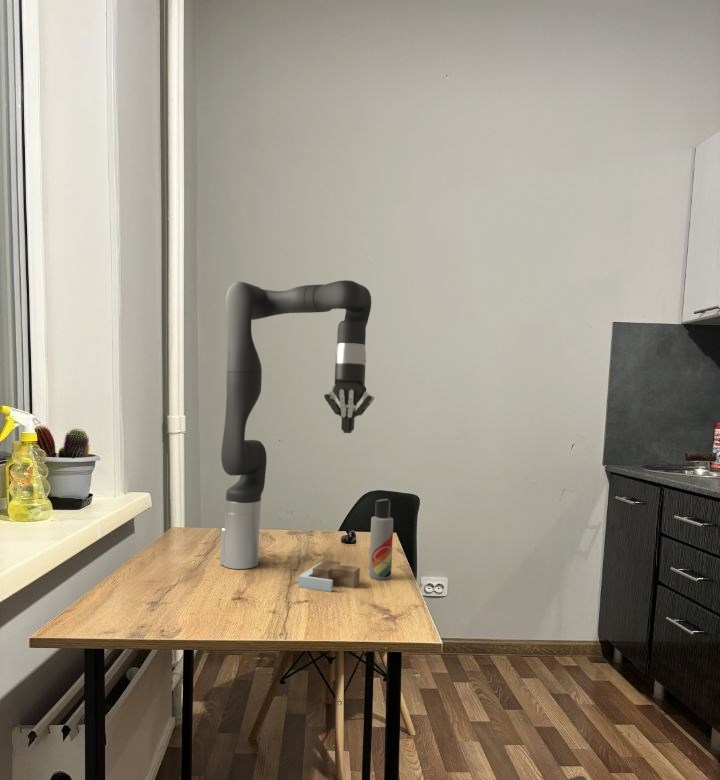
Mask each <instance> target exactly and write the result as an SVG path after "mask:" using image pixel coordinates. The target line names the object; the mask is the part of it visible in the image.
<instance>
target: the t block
mask: <svg viewBox="0 0 720 780" xmlns="http://www.w3.org/2000/svg"><path fill="white" fill-rule="evenodd" d="M321 562H322V563H320V562H319V563H320V564H319V565H317V564H316V565H317V566H316V567H314V566H313V567H314V568H313V576H312V577H316V578H323V579H330V580H333V587H334V586H336V587H342V588H347V589H348V588H350V589H355V588H357V586H358V585H360V574H361V573H360V572H361V570H360V569H361V568H360V567H359V566H353V565H348V566H346V564H341V562H339V561H334V560H333V561H332V560H326V559H325V560H324V561H321ZM340 564H341V565H340Z"/></svg>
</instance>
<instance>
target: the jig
mask: <svg viewBox="0 0 720 780" xmlns="http://www.w3.org/2000/svg"><path fill="white" fill-rule="evenodd" d="M322 562H323V561H319V563H317V564H316V565H314V566H312V567H311V568H309V569H308V570H306V571H303V573H301V574H300V575H298V577H297V580H298V581H297V587H298V588H304V589H309V590H316V591H322V592H323V591H324V592H330V593H331V592H333V589H334V588H333V587H334V585H333V580H330V579H323V578H316V577H312V576H313V568H314V567H316V566H317V565H319V564H320V563H322ZM340 565H342V564H341V563H340ZM345 565H346V564H345ZM346 566H349V565H346Z"/></svg>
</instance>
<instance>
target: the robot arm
mask: <svg viewBox="0 0 720 780" xmlns="http://www.w3.org/2000/svg"><path fill="white" fill-rule="evenodd" d="M338 309H339V310H340V309H342V310H345V315H344V320H341V321H340V322H339V323H338V326H337V335H336V336H337V338H336V339H337V340H336V341H337V342H336V350H335V358H334V359H335V362H334V385H333V386H332V390H331V391H330V392H328V393H325V394H324V396H323V398H324V399H325V401H326V402H327V404H328V406H329V407H330V408H331V410H332V412H333V413H334V414H335V415H338V416H340V417H341V431H343V434H352V433H353V431H354V430H355V419H356V417H358V416H362V415H363V414H364V413H365V411H366V410H367V409H368V407H369V406H370V405H372V403H373V401H374V400H375V396H373V395H371V394H370V393H368V392H367V388H366V385H365V381H366V364H367V353H366V351H367V350H366V336H367V335H366V334H367V333H366V330H367V329H366V328H367V325H368V322H369V318H370V313H371V309H372V296H371V292H370V290H369V289H368V288H367V287H366V286H364V285H362V284H360V283H358V282H355V281H353V280H348V279H347V280H345V279H344V280H338V281H336V280H335V281H334V282H329V283H326V284H323V283H322V284H307V285H305V284H304V285H301V286H296V287H293V288H290V289H287V290H271V289H270V290H269V289H263V288H261V287H259V286H256V285H253V284H251V283H247V282H244V281H236V282H234V283H232V284H231V285H230V286H229V288H228V289H227V292H226V296H225V316H226V318H225V319H226V329H227V333H226V334H227V361H226V362H227V363H226V396H225V397H226V400H225V420H224V428H223V436H222V443H221V453H220V456H221V457H220V461H221V465H222V469H223V471H224V472H225V473H226V475H229V476H239V479H238V481H236V483H234V484H233V485H232V486H230V487H229V488H227V490H226V492H225V493H226V494H225V510H224V511H225V514H224V515H225V517H224V527H222V528H221V530H220V531H221V532H220V552H219V553H220V554H219V555H220V556H219V557H220V558H219V566H224V567H226V568H228V569H233V570H234V569H235V570H236V569H237V570H238V569H239V570H243V569H244V570H245V569H251V568H255V567H257V566H258V565H259V555H260V554H259V552H260V535H261V534H260V533H261V532H260V529H261V507H262V504H261V503H262V494H263V492H264V489H265V483H266V472H267V463H268V462H267V452H266V451H267V450H266V448H265V446H264V444H263V443H262V442H261V441H260V440H256V439H245V438H246V426H247V421H248V418H249V416H250V415H251V413H252V411H253V409H254V408H255V405H256V404H257V402H258V399H259V397H260V395H261V392H262V377H263V376H262V374H263V373H262V371H263V370H262V364H261V361H260V360H261V359H260V356H259V354H258V351H257V348H256V345H255V342H254V340H253V335H252V321H253V320H254V321H256V320H259V319H264V318H268V317H272V316H278V315H283V314H301V313H303V314H308V313H311V314H312V313H326V312H331V311H332V310H338ZM336 399H337V400H338V402H339V404H338V402H337V401H336ZM360 401H362V402H361V403H360V405H359V406H358V403H359V402H360Z"/></svg>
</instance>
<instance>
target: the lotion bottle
mask: <svg viewBox="0 0 720 780" xmlns="http://www.w3.org/2000/svg"><path fill="white" fill-rule="evenodd" d="M374 509H375V511H374V515H375V516H372V517H371V520H370V538H369V539H370V544H369V566H368V567H369V568H368V569H369V570H368V571H369V572H368V575H369V578H370V579H373V580H378V581H379V580H380V581H384V580H389V579H390V578H391V577H392V563H393V540H394V538H393V537H394V535H393V534H394V518H393V517H391V501H390V499H389V498H380V499H379V498H378V499H376V500H375V506H374Z"/></svg>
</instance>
